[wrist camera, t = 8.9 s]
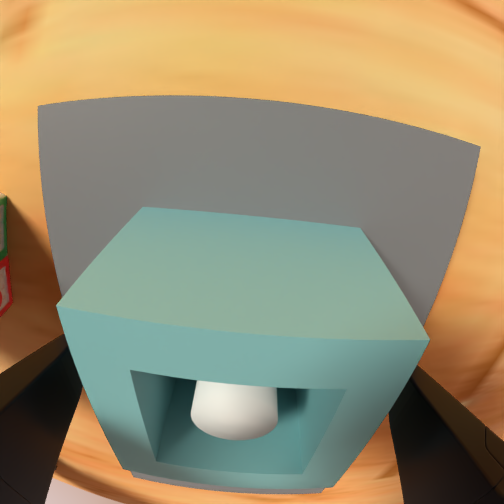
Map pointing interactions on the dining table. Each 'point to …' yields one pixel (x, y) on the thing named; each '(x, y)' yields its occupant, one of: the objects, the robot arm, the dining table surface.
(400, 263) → the grey piece
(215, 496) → the dining table surface
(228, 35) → the dining table surface
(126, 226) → the teal hollow block
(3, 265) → the stack of blocks
